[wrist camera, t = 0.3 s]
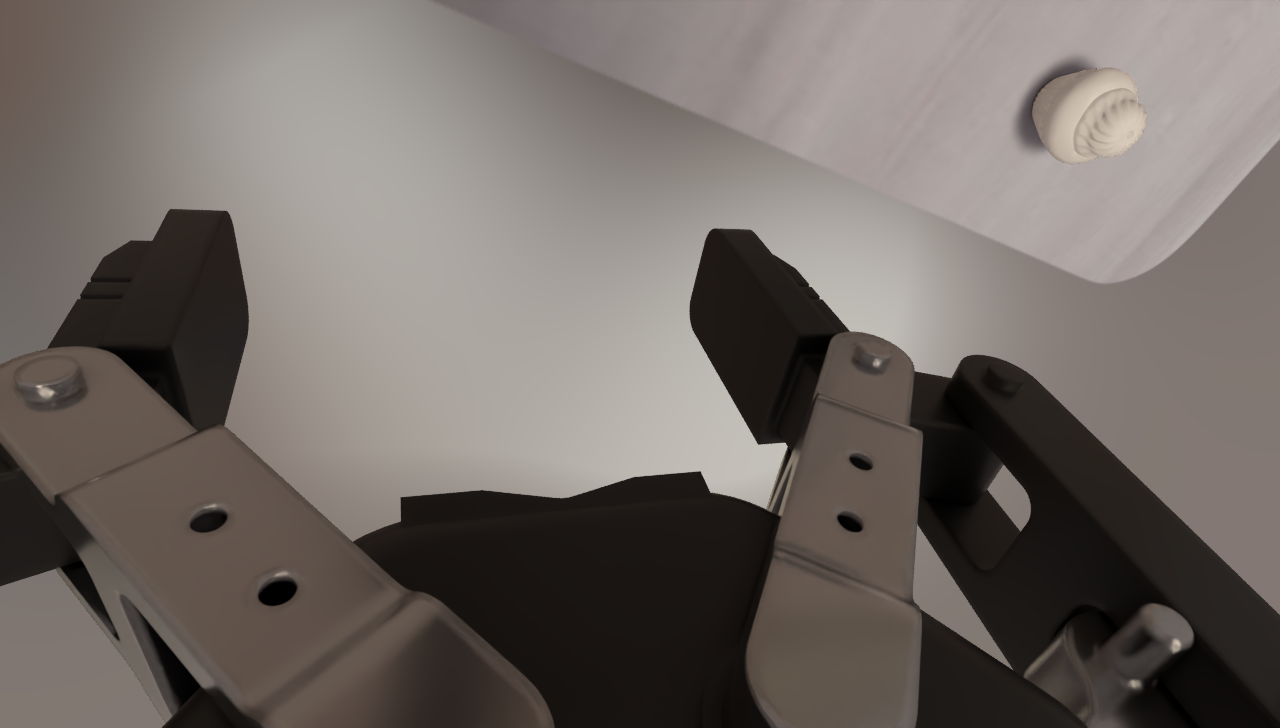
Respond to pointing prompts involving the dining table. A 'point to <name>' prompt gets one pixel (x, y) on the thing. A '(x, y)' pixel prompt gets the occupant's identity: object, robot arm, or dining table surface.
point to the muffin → (1089, 115)
